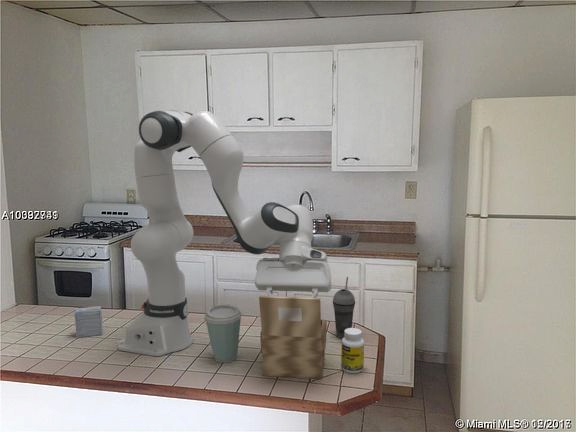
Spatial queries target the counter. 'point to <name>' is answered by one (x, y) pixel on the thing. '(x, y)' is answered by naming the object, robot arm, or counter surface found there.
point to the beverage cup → (343, 310)
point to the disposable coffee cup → (223, 331)
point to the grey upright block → (88, 321)
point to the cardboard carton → (294, 355)
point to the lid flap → (290, 316)
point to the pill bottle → (352, 351)
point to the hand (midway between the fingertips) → (291, 305)
